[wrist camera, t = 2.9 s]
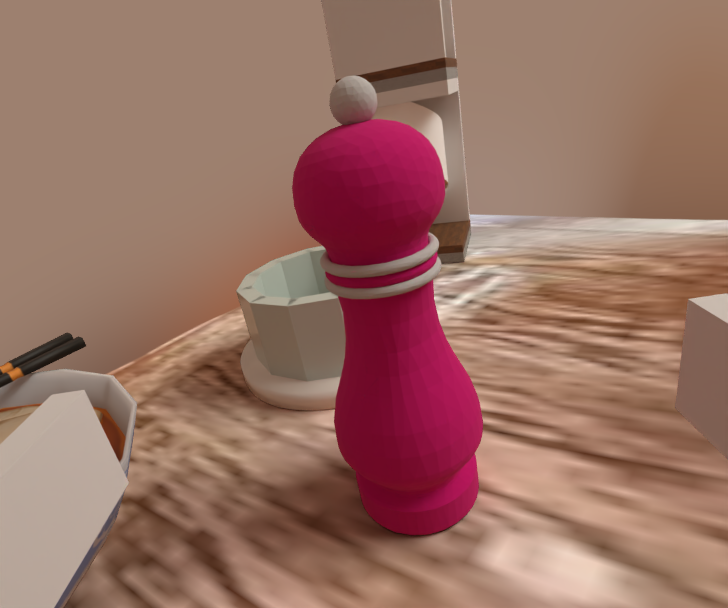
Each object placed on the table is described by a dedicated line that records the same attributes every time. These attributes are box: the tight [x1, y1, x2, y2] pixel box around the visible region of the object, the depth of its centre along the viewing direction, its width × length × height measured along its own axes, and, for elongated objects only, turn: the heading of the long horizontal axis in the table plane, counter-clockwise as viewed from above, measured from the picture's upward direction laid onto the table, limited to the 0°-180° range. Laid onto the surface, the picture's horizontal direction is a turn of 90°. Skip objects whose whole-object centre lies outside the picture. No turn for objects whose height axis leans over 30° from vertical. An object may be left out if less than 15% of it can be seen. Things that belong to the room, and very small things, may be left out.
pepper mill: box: [292, 76, 483, 535], centre depth 21 cm, size 7×7×20 cm
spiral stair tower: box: [321, 0, 471, 263], centre depth 53 cm, size 11×11×35 cm
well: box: [236, 246, 346, 411], centre depth 39 cm, size 16×16×8 cm
